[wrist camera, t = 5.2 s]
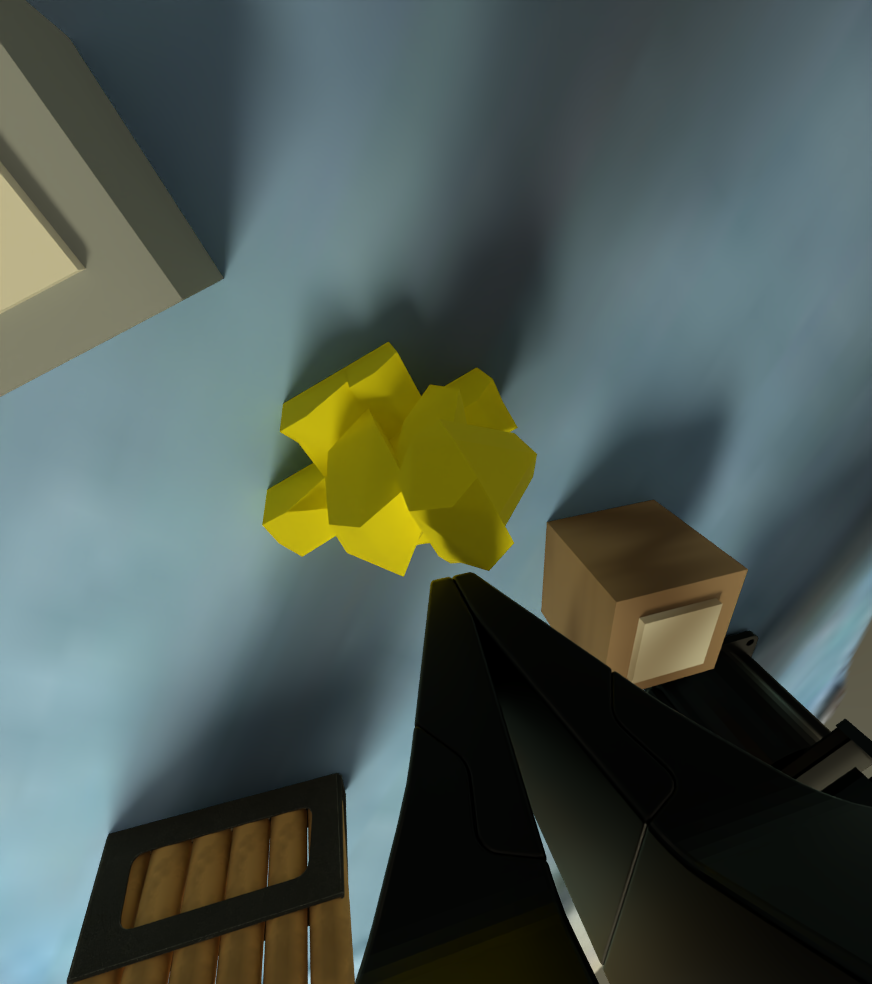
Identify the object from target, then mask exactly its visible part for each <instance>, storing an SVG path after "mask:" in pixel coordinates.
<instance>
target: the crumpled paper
mask: <svg viewBox="0 0 872 984" xmlns="http://www.w3.org/2000/svg"><path fill="white" fill-rule="evenodd" d="M516 428H518V427H517V426H516V424H515V422H514V420H513V419H512V417H511V415H510V414H509V412H508V410H507V408H506V407H505V405H504V403H503V401H502V399H501V397H500V394H499V392H498V390H497V387H496V385H495V383H494V381H493V379H492V378H491V377H489V376H488V375H487V374H485V373H484V372H483V371H481V370H480V369H479V368H477V367H476V368H475V369H473V370H471V371H470V372H468V373H466V374H464V375H463V376H461V377H459V378H458V379H456V380H454V381H452V382H451V383H449V384H447V385H446V386H437V385H429V386H428V388H427V389H426V391H425V392H424V393H423V395H422V396H421V395H420V393H419V391H418V390H417V388H416V386H415V384H414V382H413V380H412V378H411V377H410V375H409V373H408V371H407V369H406V367H405V366H404V364H403V362H402V360H401V358H400V356H399V354H398V353H397V351H396V350H395V349H394V348H393V346H392V345H391V344H390V343H389V342H387V343H385V344H384V345H382V346H380V347H379V348H377V349H375V350H373V351H372V352H370V353H368V354H367V355H365V356H363V357H362V358H360V359H358V360H356V361H355V362H353V363H351V364H350V365H348V366H346V367H345V368H343V369H341V370H339V371H338V372H336V373H334V374H333V375H331V376H329V377H328V378H326V379H324V380H323V381H321V382H319V383H317V384H316V385H314V386H312V387H311V388H309V389H307V390H306V391H304V392H302V393H300V394H299V395H297V396H295V397H294V398H292V399H290V400H289V401H287V402H285V403H283V409H282V417H281V426H280V432H281V433H283V434H284V435H286V436H288V437H290V438H291V439H293V440H295V441H296V442H298V443H299V444H300V446H301V447H302V448H303V450H304V451H305V452H306V454H307V455H308V456H309V457H310V459H311V460H312V461H313V463H312V464H310V465H309V466H307V467H305V468H304V469H302V470H300V471H298V472H297V473H295V474H293V475H292V476H290V477H288V478H286V479H285V480H283V481H281V482H280V483H278V484H276V485H274V486H273V487H271V488H269V489H268V490H267V495H266V502H265V510H264V517H263V524H262V525H263V526H264V527H265V528H266V530H267V531H268V532H269V533H270V534H271V535H272V536H273V537H274V538H275V539H276V540H277V542H278V543H279V544H281V545H283V546H285V547H286V548H288V549H290V550H291V551H293V552H295V553H297V554H298V555H300V556H302V557H303V556H304V555H306V554H307V553H309V552H311V551H312V550H314V549H315V548H317V547H319V546H320V545H322V544H323V543H325V542H327V541H328V540H330V539H331V538H333V537H335V536H337V538H338V539H339V541H340V543H341V544H342V546H343V547H344V549H345V550H346V552H347V553H349V554H351V555H354V556H356V557H358V558H361V559H363V560H365V561H368V562H370V563H372V564H375V565H377V566H380V567H382V568H384V569H387V570H389V571H391V572H394V573H396V574H398V575H401V576H403V577H404V575H405V572H406V570H407V567H408V565H409V562H410V560H411V557H412V554H413V552H414V549H415V547H416V545H418V544H425V543H430V544H431V545H432V547H433V548H434V550H435V551H436V553H437V554H438V556H440V557H441V558H443V559H444V560H446V561H448V562H449V563H464V564H468V565H471V566H474V567H478V568H481V569H484V570H488V571H489V570H490V569H491V568H492V567H493V566H494V565H495V564H496V563H497V561H498V560H499V559H500V558H501V557H502V556H503V555H504V554H505V553H506V551H507V550H508V549H509V548H510V547H511V546H512V545H513V544H514V542H513V540H512V538H511V536H510V535H509V533H508V531H507V529H506V527H505V526H506V524H507V522H508V520H509V519H510V517H511V515H512V513H513V511H514V510H515V508H516V506H517V504H518V503H519V501H520V499H521V497H522V495H523V494H524V492H525V490H526V488H527V487H528V485H529V483H530V481H531V479H532V478H533V474H534V469H535V463H536V457H537V454H536V453H535V452H534V451H533V450H532V449H531V448H530V447H529V446H528V445H527V444H525V443H524V442H523V441H522V440H521V439H520V438H519V437H518V436H517V435H516V434H515V433H510V432H511V431H512V430H514V429H516Z"/></svg>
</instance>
